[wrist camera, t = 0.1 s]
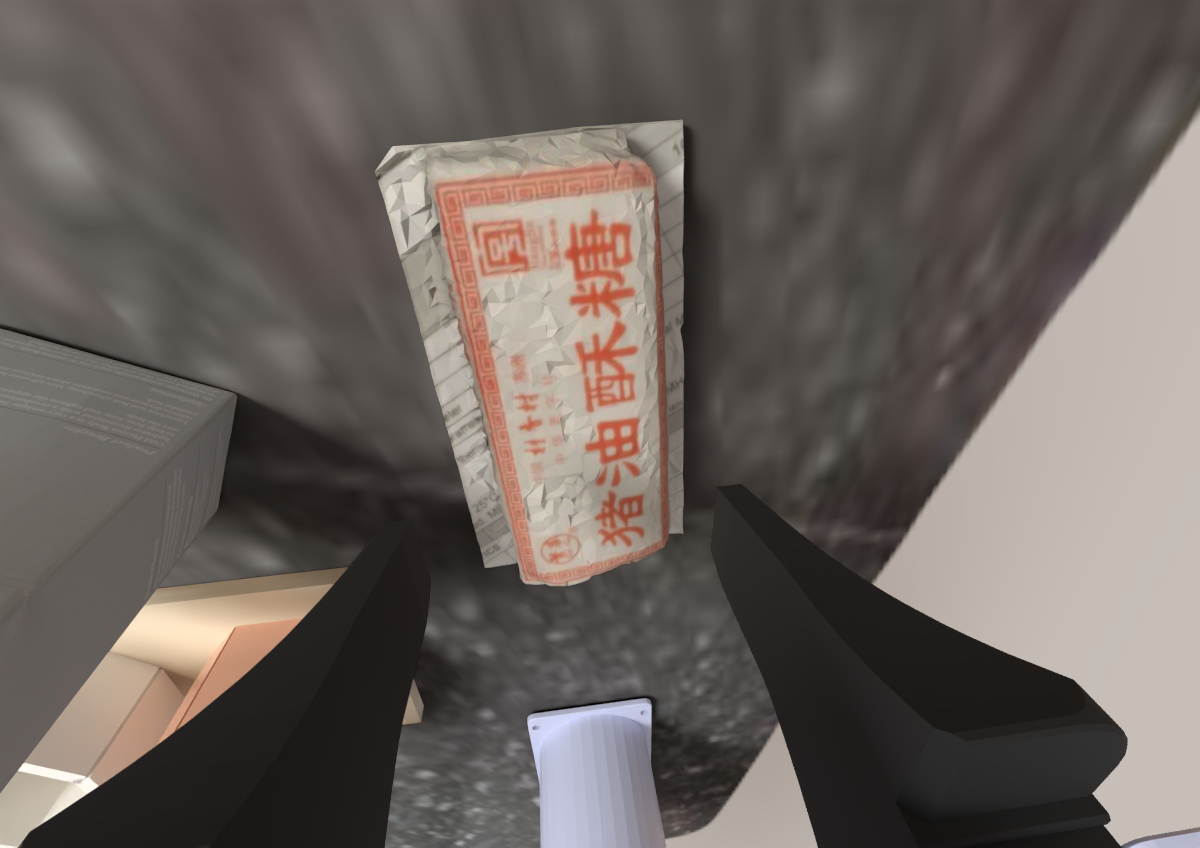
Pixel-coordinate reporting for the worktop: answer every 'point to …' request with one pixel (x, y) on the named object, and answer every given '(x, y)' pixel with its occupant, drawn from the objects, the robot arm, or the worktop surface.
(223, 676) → the terracotta octagonal bowl
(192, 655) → the rack board
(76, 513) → the skincare box
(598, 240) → the packaged product
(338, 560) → the worktop surface
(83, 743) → the tube white
